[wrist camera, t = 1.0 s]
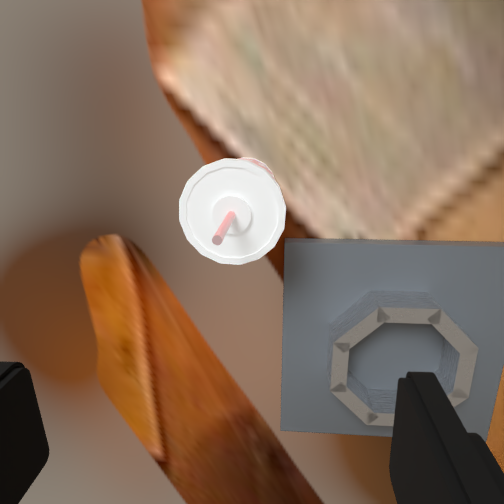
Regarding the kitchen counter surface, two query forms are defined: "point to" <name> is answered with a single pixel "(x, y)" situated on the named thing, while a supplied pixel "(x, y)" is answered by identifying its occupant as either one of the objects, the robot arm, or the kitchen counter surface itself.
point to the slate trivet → (388, 334)
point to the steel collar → (395, 311)
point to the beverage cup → (233, 210)
